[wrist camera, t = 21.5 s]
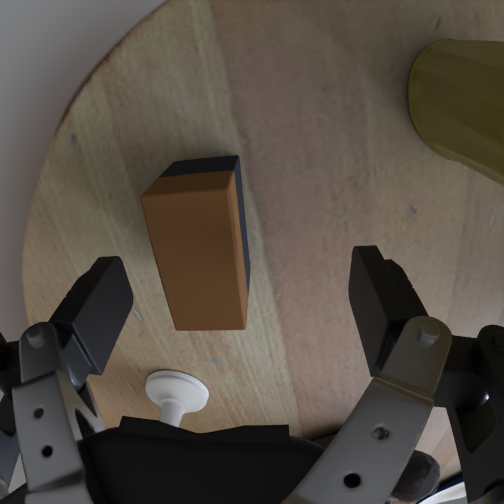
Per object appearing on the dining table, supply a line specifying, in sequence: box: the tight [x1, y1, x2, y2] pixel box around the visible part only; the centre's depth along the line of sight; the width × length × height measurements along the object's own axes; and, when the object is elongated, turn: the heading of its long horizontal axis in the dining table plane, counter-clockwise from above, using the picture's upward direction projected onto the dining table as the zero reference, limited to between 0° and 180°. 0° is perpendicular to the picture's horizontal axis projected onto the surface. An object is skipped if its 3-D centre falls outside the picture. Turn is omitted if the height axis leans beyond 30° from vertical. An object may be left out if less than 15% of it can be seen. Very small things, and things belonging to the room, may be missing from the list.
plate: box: [416, 475, 466, 504], centre depth 42 cm, size 20×20×3 cm
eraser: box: [141, 155, 250, 331], centre depth 13 cm, size 6×3×4 cm, turn 5°
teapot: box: [312, 434, 440, 504], centre depth 22 cm, size 19×15×10 cm
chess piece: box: [145, 370, 209, 427], centre depth 18 cm, size 5×5×10 cm
